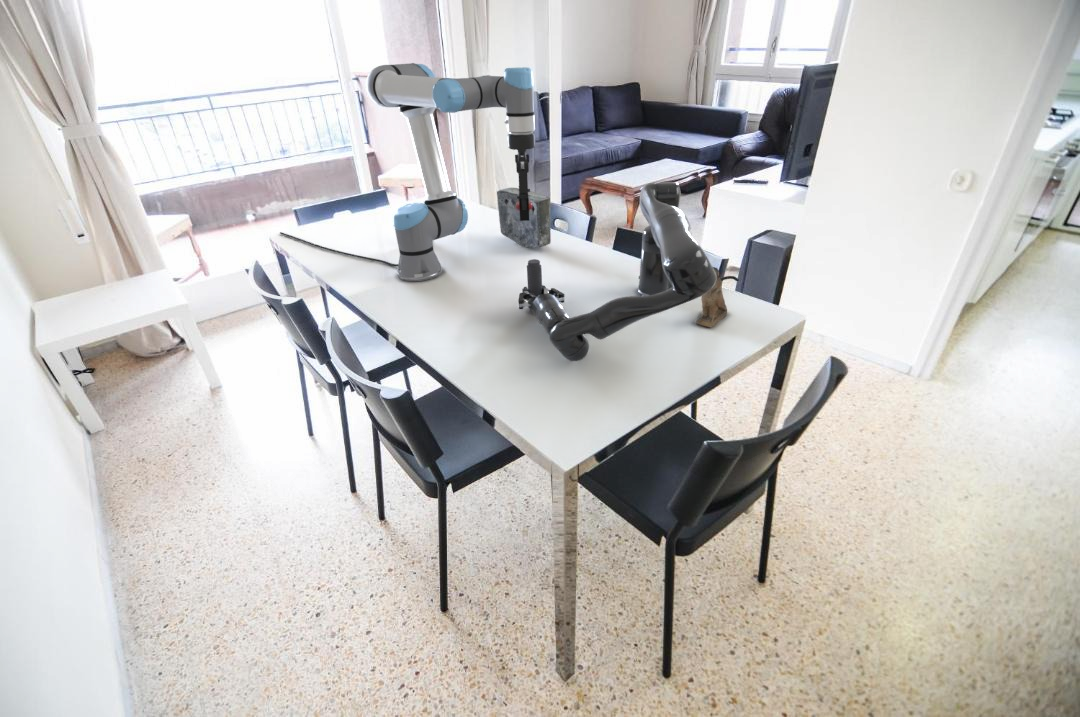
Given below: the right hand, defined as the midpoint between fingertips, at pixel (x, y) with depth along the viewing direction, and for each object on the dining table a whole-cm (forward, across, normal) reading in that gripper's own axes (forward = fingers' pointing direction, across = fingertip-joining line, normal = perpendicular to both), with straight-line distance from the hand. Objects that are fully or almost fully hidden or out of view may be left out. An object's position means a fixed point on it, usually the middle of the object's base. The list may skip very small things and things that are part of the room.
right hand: (532, 288), depth 147 cm
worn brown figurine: (-24, +45, -6) cm, 52 cm away
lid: (+12, +2, +22) cm, 25 cm away
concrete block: (+56, +13, -6) cm, 58 cm away
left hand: (+12, +2, +18) cm, 22 cm away
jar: (-3, 0, -6) cm, 7 cm away
